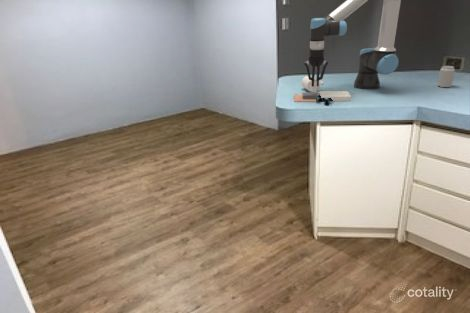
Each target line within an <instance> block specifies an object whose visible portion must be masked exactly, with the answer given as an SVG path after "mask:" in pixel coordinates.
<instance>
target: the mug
mask: <svg viewBox="0 0 470 313" xmlns="http://www.w3.org/2000/svg"><path fill="white" fill-rule="evenodd" d="M314 80H317V78H315V77H314ZM324 84H325V83H324V81H322V80H319V86H317V90H316V92H317V91H319V89H320V87H321V86H323V85H324ZM301 86H302V88H304V89H305V90H307V91H309V93H314V92H313V87H314V86H312V80H309V78H308V75H305V76H304V77H303V78H302V80H301Z"/></svg>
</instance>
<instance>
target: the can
mask: <svg viewBox="0 0 470 313" xmlns="http://www.w3.org/2000/svg"><path fill="white" fill-rule="evenodd" d="M455 71H456V69H455V67H454V66H452V65H443V66H441V68H440V70H439V74H438V80H437V86H438V87H439V86H440V87H439V88H442V87H449V88H451V87H452V86H453V81H454V76H455Z"/></svg>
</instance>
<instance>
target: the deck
mask: <svg viewBox="0 0 470 313" xmlns="http://www.w3.org/2000/svg"><path fill="white" fill-rule="evenodd" d="M318 93H319V95H320V96H321V98H331V99H332V100H333V101H332V102H351V99H352V98H351V97H352V96H351V94H350V93H349V92H348V90H342V91H341V90H339V91H338V90H328V91H327V90H325V91H324V90H323V91H321V90H318Z"/></svg>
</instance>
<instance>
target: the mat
mask: <svg viewBox="0 0 470 313" xmlns="http://www.w3.org/2000/svg"><path fill="white" fill-rule="evenodd" d="M293 102H294V103H301V102H302V103H310V102H311V103H312V102H314V103H316V99H303V97H302V94H293Z"/></svg>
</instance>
